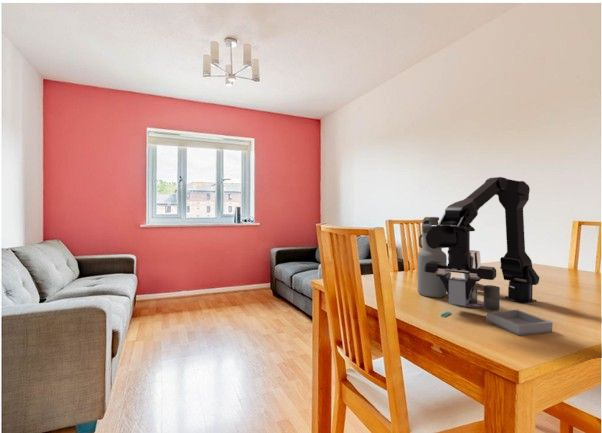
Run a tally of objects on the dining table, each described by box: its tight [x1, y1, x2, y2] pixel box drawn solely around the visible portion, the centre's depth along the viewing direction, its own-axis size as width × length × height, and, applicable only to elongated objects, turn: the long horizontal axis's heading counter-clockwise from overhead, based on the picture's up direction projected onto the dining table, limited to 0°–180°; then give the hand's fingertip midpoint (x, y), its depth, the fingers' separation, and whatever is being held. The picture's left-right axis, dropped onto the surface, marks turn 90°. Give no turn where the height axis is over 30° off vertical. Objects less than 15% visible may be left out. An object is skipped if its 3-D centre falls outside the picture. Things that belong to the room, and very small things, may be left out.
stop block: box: [448, 276, 469, 306], centre depth 95 cm, size 4×4×7 cm
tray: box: [486, 309, 553, 337], centre depth 83 cm, size 10×10×2 cm
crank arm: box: [473, 283, 501, 312], centre depth 98 cm, size 14×5×6 cm, turn 13°
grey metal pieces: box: [440, 288, 484, 318], centre depth 100 cm, size 20×14×6 cm
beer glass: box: [460, 249, 481, 294], centre depth 118 cm, size 7×7×15 cm
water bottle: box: [416, 216, 448, 298], centre depth 115 cm, size 10×10×28 cm
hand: (458, 298), depth 95 cm, fingers closed on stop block, 4 cm apart
